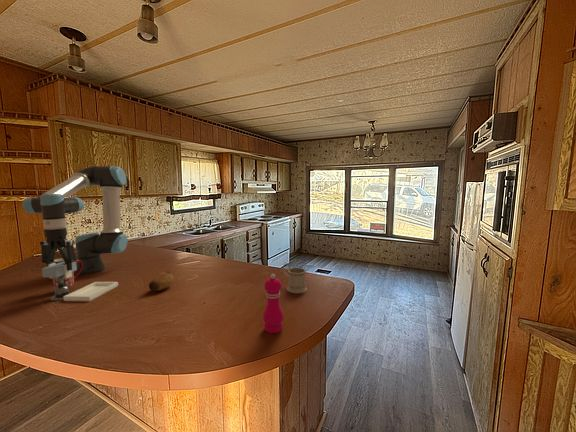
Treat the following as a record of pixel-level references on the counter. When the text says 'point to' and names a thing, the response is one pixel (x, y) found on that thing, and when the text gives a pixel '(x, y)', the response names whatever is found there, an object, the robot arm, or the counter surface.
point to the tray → (91, 291)
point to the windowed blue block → (56, 270)
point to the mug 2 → (296, 279)
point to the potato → (161, 281)
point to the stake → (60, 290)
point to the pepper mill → (273, 306)
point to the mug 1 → (67, 281)
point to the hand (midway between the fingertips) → (60, 277)
